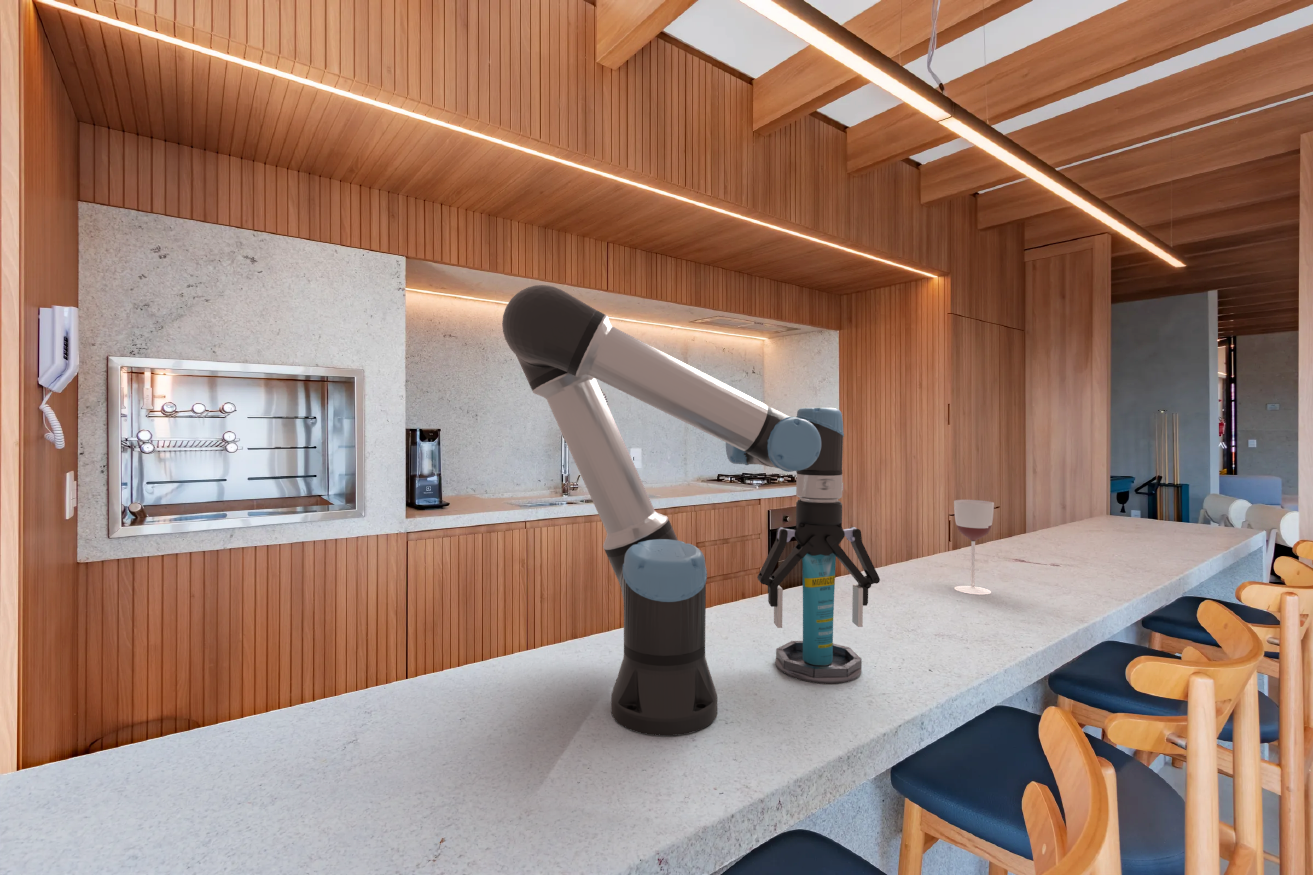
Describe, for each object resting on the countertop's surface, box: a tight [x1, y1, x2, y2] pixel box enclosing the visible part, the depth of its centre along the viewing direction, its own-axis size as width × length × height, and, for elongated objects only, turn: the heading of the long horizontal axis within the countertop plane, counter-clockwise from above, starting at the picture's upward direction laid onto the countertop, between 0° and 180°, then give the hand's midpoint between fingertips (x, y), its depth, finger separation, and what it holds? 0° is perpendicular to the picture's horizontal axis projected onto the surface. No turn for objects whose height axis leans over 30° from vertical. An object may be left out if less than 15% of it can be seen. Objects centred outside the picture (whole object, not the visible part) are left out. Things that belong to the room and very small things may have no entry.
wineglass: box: [953, 499, 995, 596], centre depth 155 cm, size 9×10×22 cm
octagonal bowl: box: [775, 640, 863, 685], centre depth 105 cm, size 14×14×2 cm
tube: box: [801, 553, 837, 666], centre depth 105 cm, size 7×5×19 cm, turn 124°
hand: (817, 625), depth 105 cm, fingers open, 13 cm apart
